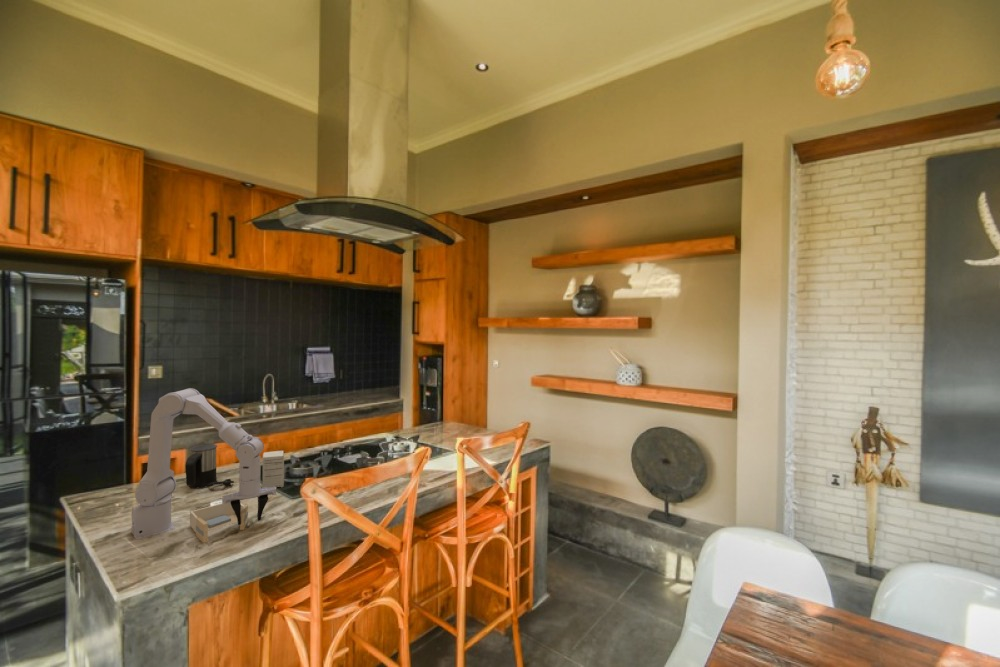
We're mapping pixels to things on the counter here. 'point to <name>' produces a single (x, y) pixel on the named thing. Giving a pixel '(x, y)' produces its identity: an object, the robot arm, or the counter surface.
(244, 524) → the flap right
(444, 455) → the counter surface
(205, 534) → the flap left
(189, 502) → the counter surface
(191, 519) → the carton
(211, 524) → the booklet
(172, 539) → the counter surface
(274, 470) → the supplement box
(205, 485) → the milk frother
